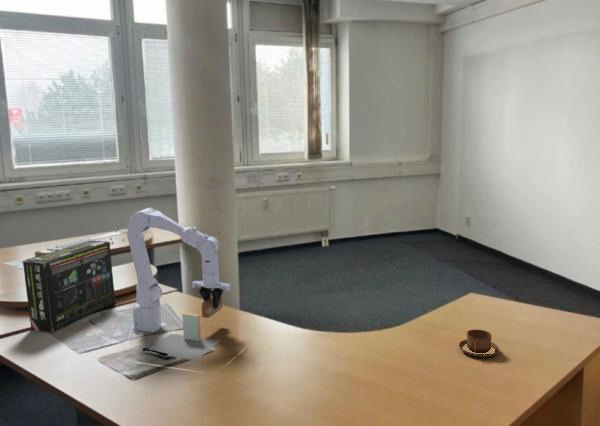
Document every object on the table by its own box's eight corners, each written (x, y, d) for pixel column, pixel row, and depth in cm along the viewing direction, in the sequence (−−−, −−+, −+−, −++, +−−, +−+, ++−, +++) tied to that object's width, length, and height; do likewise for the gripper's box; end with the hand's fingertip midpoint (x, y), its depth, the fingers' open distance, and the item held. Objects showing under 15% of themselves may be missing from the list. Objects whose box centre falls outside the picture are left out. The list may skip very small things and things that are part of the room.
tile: (183, 339, 182) (182, 314, 180) (185, 337, 183) (184, 313, 181) (198, 341, 180) (197, 316, 178) (200, 339, 181) (199, 314, 179)
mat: (143, 353, 172) (142, 352, 172) (170, 335, 187) (170, 334, 186) (196, 361, 165) (196, 360, 165) (221, 342, 180) (221, 340, 180)
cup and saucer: (501, 361, 161) (502, 342, 160) (460, 358, 164) (461, 340, 163) (495, 345, 173) (496, 327, 172) (457, 343, 175) (457, 325, 174)
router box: (95, 300, 227) (90, 239, 223) (116, 302, 223) (112, 241, 219) (27, 330, 194) (20, 260, 190) (51, 334, 190) (43, 262, 186)
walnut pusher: (202, 317, 186) (201, 303, 185) (216, 307, 195) (215, 294, 194) (208, 317, 185) (207, 304, 184) (222, 308, 194) (221, 295, 193)
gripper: (233, 269, 189) (235, 306, 191) (198, 266, 193) (200, 302, 196) (224, 275, 182) (226, 312, 184) (188, 271, 187) (190, 308, 189)
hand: (212, 307), depth 189 cm, fingers closed on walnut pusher, 2 cm apart
